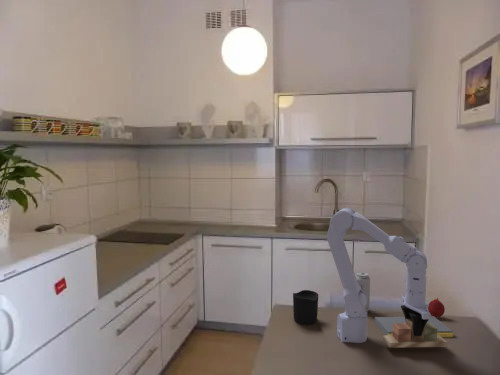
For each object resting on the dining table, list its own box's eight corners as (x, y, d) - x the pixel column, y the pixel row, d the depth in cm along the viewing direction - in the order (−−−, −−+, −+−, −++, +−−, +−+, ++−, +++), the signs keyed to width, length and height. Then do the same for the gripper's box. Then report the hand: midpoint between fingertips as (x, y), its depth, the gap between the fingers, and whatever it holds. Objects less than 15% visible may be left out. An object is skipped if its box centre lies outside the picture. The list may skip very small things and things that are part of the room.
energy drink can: (350, 310, 149) (351, 274, 148) (357, 306, 154) (358, 270, 153) (365, 315, 145) (366, 277, 144) (371, 310, 150) (372, 273, 149)
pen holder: (319, 326, 136) (319, 299, 135) (293, 325, 136) (293, 298, 136) (316, 315, 145) (316, 290, 144) (292, 314, 146) (292, 289, 145)
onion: (446, 322, 139) (447, 301, 138) (429, 320, 140) (430, 300, 139) (441, 315, 145) (442, 295, 144) (425, 314, 146) (426, 294, 145)
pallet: (389, 347, 115) (390, 325, 114) (383, 339, 120) (383, 318, 119) (446, 346, 115) (447, 324, 115) (438, 338, 120) (439, 317, 120)
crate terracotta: (398, 341, 115) (398, 329, 115) (392, 335, 119) (392, 323, 119) (410, 341, 116) (411, 328, 115) (404, 335, 120) (405, 323, 119)
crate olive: (424, 341, 116) (424, 328, 115) (418, 335, 120) (418, 323, 119) (436, 341, 116) (437, 328, 116) (430, 335, 120) (430, 323, 120)
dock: (388, 340, 125) (388, 332, 125) (374, 323, 138) (374, 317, 137) (453, 339, 126) (453, 331, 125) (433, 322, 138) (433, 316, 138)
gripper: (440, 298, 109) (439, 343, 110) (417, 282, 124) (415, 322, 125) (417, 298, 109) (415, 343, 110) (396, 282, 123) (394, 322, 124)
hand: (414, 332), depth 117 cm, fingers closed on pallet, 4 cm apart
